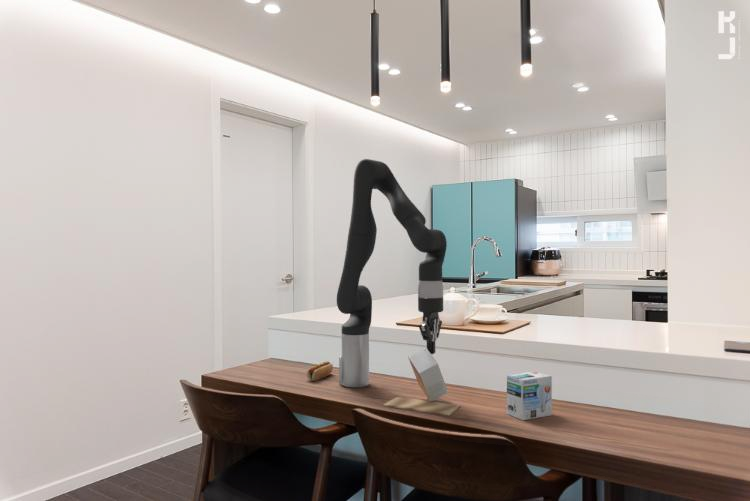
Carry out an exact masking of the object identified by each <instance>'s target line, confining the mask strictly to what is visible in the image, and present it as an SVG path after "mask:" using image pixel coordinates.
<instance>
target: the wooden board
mask: <svg viewBox="0 0 750 501" xmlns="http://www.w3.org/2000/svg"><path fill="white" fill-rule="evenodd" d="M383 407H388V408H389V407H390V408H395V409H402V410H408V411H409V410H410V411H415V412H422V413H429V414H436V415H442V416H452V414H453V413H455V412H456V411H457V410H459V409H460V408H461V405H460V404H453V403H445V402H437V401H429V400H425V399H424V400H422V399H416V398H408V397H402V396H396V397H395V398H392V399H390V400H389V401H387V402H385V403H384V404H383Z"/></svg>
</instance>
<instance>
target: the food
mask: <svg viewBox="0 0 750 501" xmlns="http://www.w3.org/2000/svg"><path fill="white" fill-rule="evenodd" d="M333 366H334V365H333V364H332V363H331V362H330V361H323V362H321V363H318V364H316V365H314V366H313V367H310V368H308V369H307V370H306V377H307V379H308V380H309V381H310V382H316V381H318V380H321V379H323V378H325V377H327V376H329V375H331V373H332V372H333Z"/></svg>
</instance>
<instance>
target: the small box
mask: <svg viewBox="0 0 750 501" xmlns="http://www.w3.org/2000/svg"><path fill="white" fill-rule="evenodd" d="M408 360H409V363H410V366H411V367H412V368H411V369H412V371H413V374H414V376H415V378H416V381H417V384H418V386H419V387H420V389H421V390H422V391H423V393H424V395H425V396H426V398H427V399H428V400H427V401H432V402H435V401H436V400H437V399H440V398H441V397H443V396H445V395H447V394H449V390H448V388H447V385H446V382H445V380H444V376H443V374H442V372H441V368H440V365H439V364H438V362H437V360H436V359H435V357H434V355H433V354H431V353H430V352H429V351H428V349H427V347H425V348H422V349H421V350H419V351H417V352H415V353H413V354H411V355H410V356H408Z"/></svg>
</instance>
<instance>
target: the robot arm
mask: <svg viewBox="0 0 750 501" xmlns="http://www.w3.org/2000/svg"><path fill="white" fill-rule="evenodd" d="M353 175H354V176H353V185H352V186H353V190H352V191H353V192H352V206H351V214H350V223H349V226H348V227H349V228H348V235H347V239H346V240H347V241H346V250H345V256H344V257H345V258H344V261H343V269H342V273H341V276H340V280H339V284H338V288H337V293H336V306H337V309H338V311H340V312H341V313H342V314H344V315H349V318H348V319H347V320H346V322H344V323H343V324H342V325H341V355H340V356H338V361H339V362H338V365H339V368H338V369H339V370H338V372H339V375H338V376H339V380H338V381H339V382H338V384H339V385H340V386H343V387H346V388H364V387H368V386H369V385H370V326H371V324H372V316H373V315H372V312H373V298H372V293H371V290H370V289H369V288H368V287H367V286H365V285H359V284H360V283H359V282H360V279H361V278H360V277H361V274H362V272H363V270H364V269H365V266H366V265H367V264H368V262H369V260H370V258H371V256H372V255H373V253H374V250H375V245H376V240H377V231H378V230H377V223H376V220H375V217H374V212H373V210H372V194H373V190H377V191H379V192H381V194H383V195H384V196H385V197H386V198H387V200H388V202H389V205H390V209H391V211H392V214H393V216H394V217H395V218H396V220H397V221H398V223H399V224H400V226H402V227H403V228H404V230H405V231H406V233H407V236H408V237H409V239H410V241H411V243H412V245H413V246H414V248H415V249H417V251H419V252H421V253H423V254H425V253H426V255H425V259H424V260H423V261H421V262H419V265H418V285H417V286H418V288H417V296H418V297H417V301H418V302H417V310H418V312H420V313H422V321H421V323H422V324H421V323H420V324H419V326H418V328H419V331H420V334H421V336H422V339H423V341H425V342H426V348H427V349H428V351H429V352H430V353H431V354H432V355H434V354H436V341H437V339H438V338H439V337H440V332H441V328H442V324H443V321H442V320H440V318H439V317H440V316H439V315H440V314H439V313H442V312H444V285H443V264H444V261H445V257H446V252H447V246H448V245H447V242H448V241H447V238H446V235H445V233H444V232H443V231H442V230H439V229H432V228H431V229H429V228H428V227H426V222H427V221H426V217H425V216H424V214H423V213H422V211H420V209H418V207H417V206H416V205H415V204H414V203H413V202H412V200H411V199H410V198H409V197H408V196H407V194H406V193H405V191H404V190H403V188H402V187H401V184H399V182H398V180H397V178H396V177H395V175H394V173H393V172H392V170H391V169H390V167H389V166H388V165H387V163H385V162H383V161H380V160H375V159H369V158H363V159H361V160H360V161H359V162H357V165H356V167H355V169H354V173H353Z"/></svg>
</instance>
